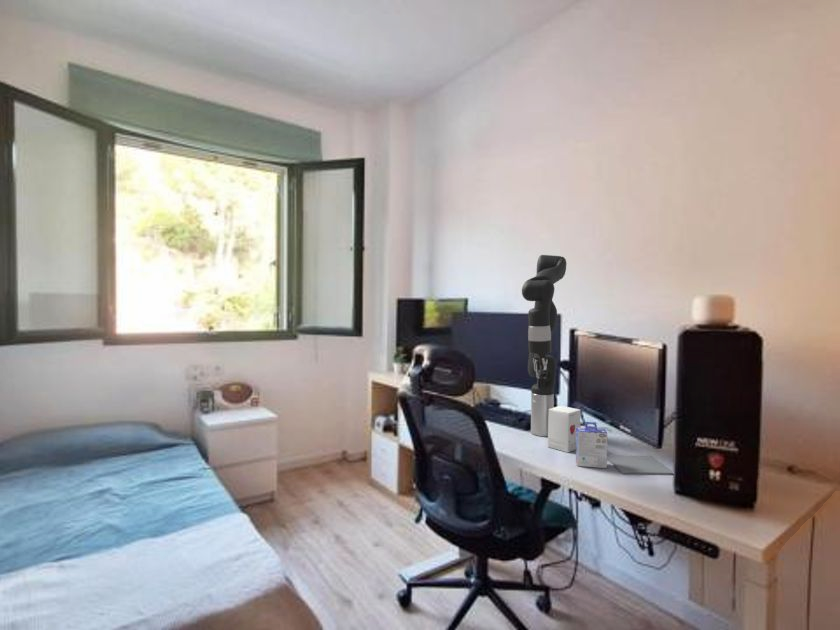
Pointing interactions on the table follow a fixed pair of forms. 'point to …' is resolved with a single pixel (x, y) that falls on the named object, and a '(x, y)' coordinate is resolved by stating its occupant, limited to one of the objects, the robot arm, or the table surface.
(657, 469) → the mat
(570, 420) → the supplement box
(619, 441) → the table surface
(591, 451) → the ink cartridge box
